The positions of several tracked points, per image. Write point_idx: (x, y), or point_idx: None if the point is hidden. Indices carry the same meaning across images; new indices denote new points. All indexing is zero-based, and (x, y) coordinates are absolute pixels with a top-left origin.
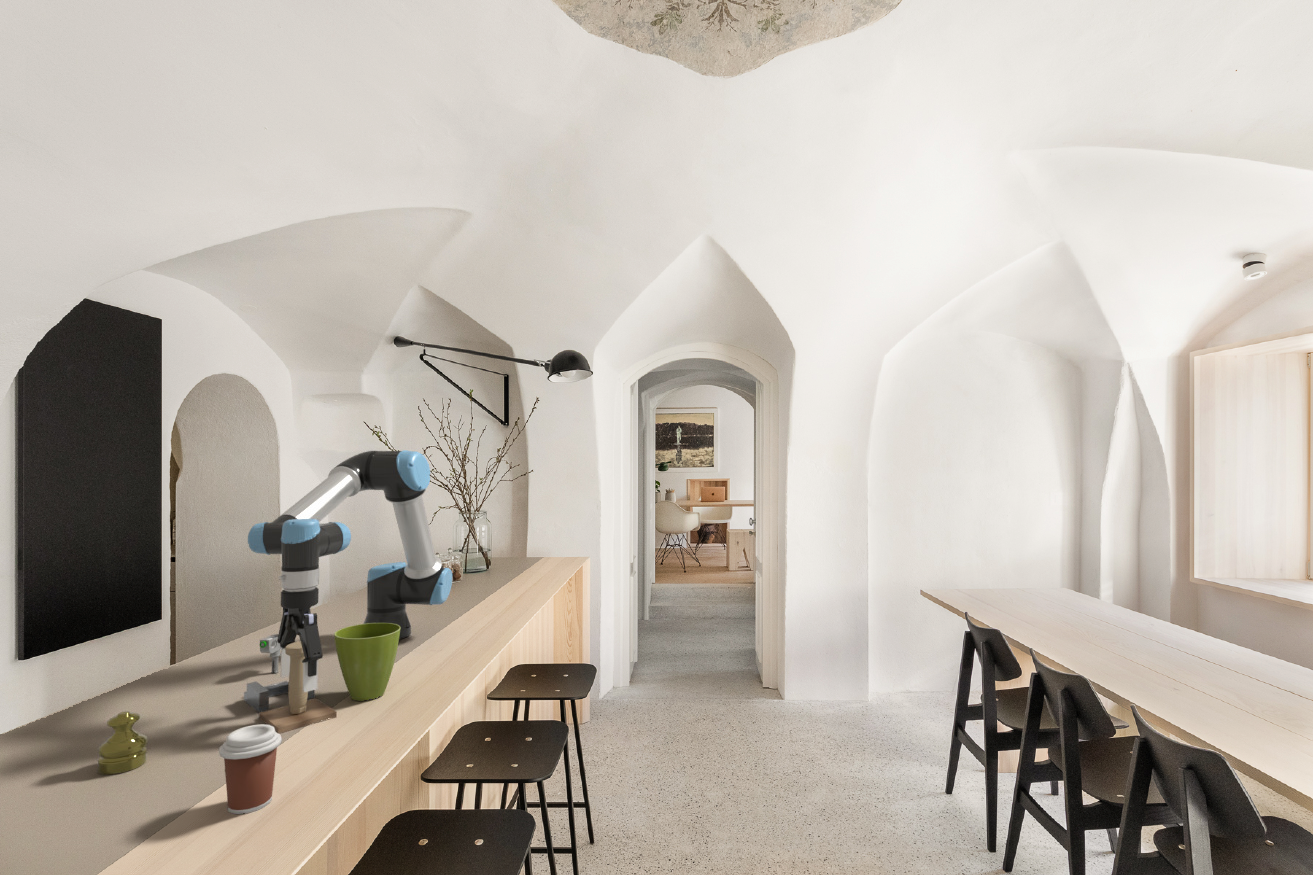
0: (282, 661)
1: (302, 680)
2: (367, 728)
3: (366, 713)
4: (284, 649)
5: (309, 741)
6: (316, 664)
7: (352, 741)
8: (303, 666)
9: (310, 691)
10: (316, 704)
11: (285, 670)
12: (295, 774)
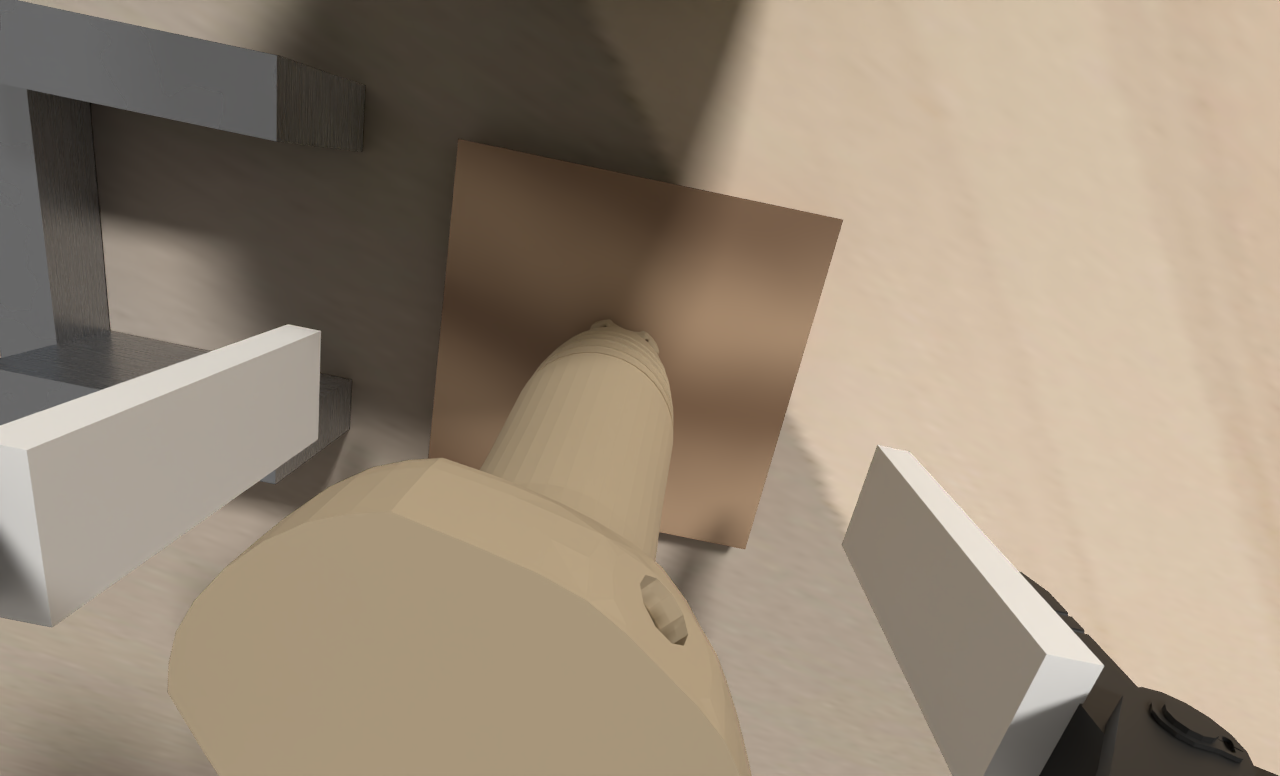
0: (206, 516)
1: (668, 466)
2: (1192, 224)
3: (979, 49)
4: (58, 590)
5: (989, 507)
6: (1122, 677)
7: (1237, 393)
8: (940, 737)
9: (332, 109)
10: (586, 214)
11: (279, 433)
12: (1224, 715)
